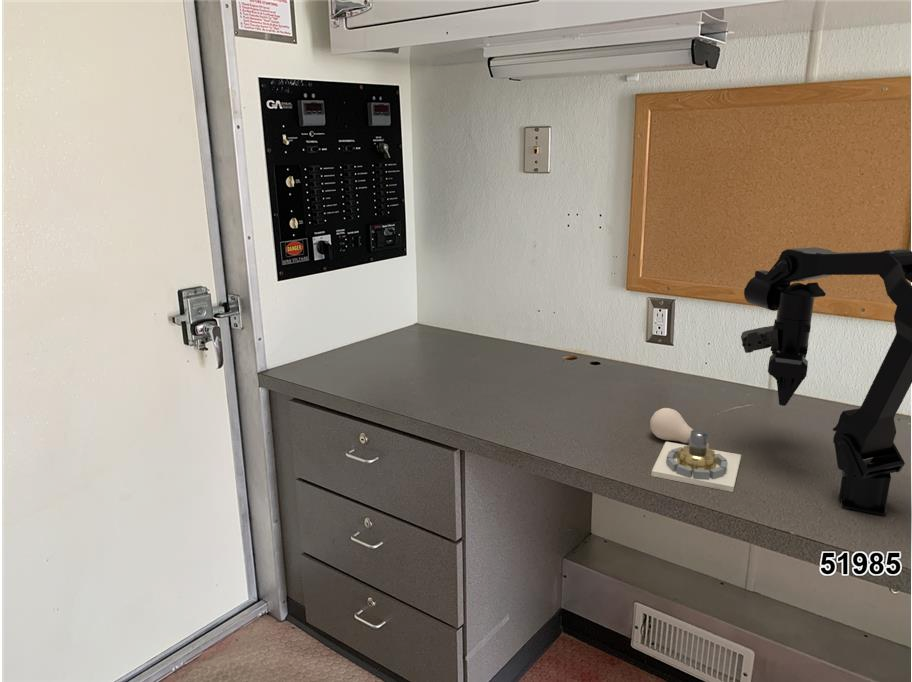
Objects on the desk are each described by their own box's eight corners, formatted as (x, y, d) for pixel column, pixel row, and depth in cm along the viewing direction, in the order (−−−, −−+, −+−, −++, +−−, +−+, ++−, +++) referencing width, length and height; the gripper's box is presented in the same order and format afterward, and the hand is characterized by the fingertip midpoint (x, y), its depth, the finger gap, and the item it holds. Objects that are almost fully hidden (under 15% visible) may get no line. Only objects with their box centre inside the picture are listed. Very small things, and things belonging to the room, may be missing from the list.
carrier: (740, 459, 136) (742, 440, 135) (733, 492, 124) (735, 471, 123) (665, 446, 142) (667, 427, 141) (651, 475, 130) (652, 455, 129)
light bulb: (713, 423, 141) (664, 396, 146) (698, 439, 137) (648, 411, 142) (704, 447, 145) (656, 420, 150) (689, 463, 140) (640, 435, 146)
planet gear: (717, 461, 133) (721, 429, 131) (713, 477, 127) (716, 443, 125) (680, 455, 136) (683, 423, 134) (674, 470, 130) (677, 436, 128)
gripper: (750, 301, 141) (741, 375, 146) (742, 324, 125) (732, 407, 129) (812, 307, 136) (802, 383, 141) (812, 331, 120) (800, 417, 125)
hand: (783, 396), depth 134 cm, fingers open, 9 cm apart
